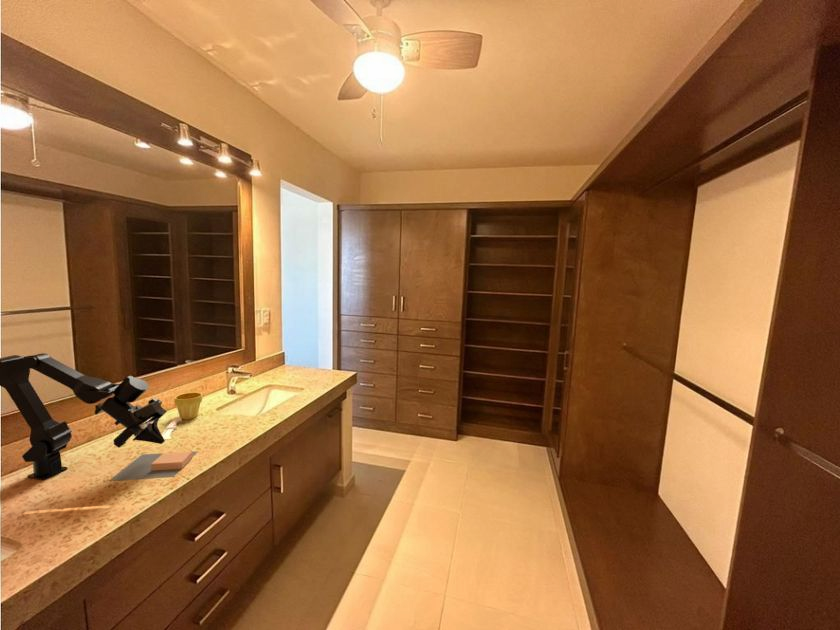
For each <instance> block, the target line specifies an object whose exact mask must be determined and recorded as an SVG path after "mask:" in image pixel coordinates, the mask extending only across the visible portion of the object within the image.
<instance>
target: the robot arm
mask: <svg viewBox="0 0 840 630" xmlns="http://www.w3.org/2000/svg"><path fill="white" fill-rule="evenodd" d="M31 369H32V370H34V371H36V372H38V373H40V374H42V375H44V376H46V377H47V378H50V379H52V380H53V381H56V382H57V383H60V384H61V385H63V386H65V387H67V388H69V389H70V390H72V392H73V394H74V396H75V397H76V398H78V399H79V400H81V401H82V402H83V403H85V404H87V405H92V404H96V403H98V404H96V405H95V406H94V407H95V409H94V415H99V414H100V413H103V412H104V413H105V414H107V415H108V416H109V417H111V418H112V419H113V420H115V422H114V425H116V426H118V425H121V426H123V427H124V428H125V429H123V431H122V432H120V433H119V434H118V435H117V436H116V437H115V438H114V439H113V445H114V446H116V447H117V448H118V449H119V448H121V447H123V446H124V445H125V444H127V441H128V440H129V439H130V438H131V437H132V436H134V437H133V439H132V441H133V442H134V441H141V442H147V443H148V442H149V443H154V444H160V445H162V444H163V443H165V442H166V441H165V440H166V439H164V438H163V436H162V433H161V431H160V429H159V428H158V424H159V423H158V422H159V421H160V419H161V418H162V417H163V416H164V415H165V414H166V413H167V411H168V410H166V409H165V408H163V407H162V404H163V401H162V400H160V398H157V397H154V398H151V399H149V400H148V402H147V404H145V405H144V406H141V405H139V404H137V405H133V404H132V403H134V402H136V401H137V399H139V398H140V397H141V396H142V395H143V394H144V393H145V392H146V391H147V390H148V389H149V387H150V385H149V383H148V382H147V381H146V380H144V379H141V378H139V377H134V376H132V375H129V376H126V377H125V378H124V379H123V381H121V383H120V384H118V383H112V382H110V381H108V380H105V379H102V378H99V377H92V376H88V375H85V374H83V373H82V372H80V371H78V370H76V369H74V368H72V367H70V366H68V365H66V364H64V363H63V362H61V361H59V360H57V359H55V358H53V357H51V355H50V354H49V353H44V352H42V353H36V354H32V355H27V356H20V355H18V354H13V355H8V356H3V357H0V387H1V388H4V389H5V390H6V392H7V394H8V395H9V396H10V398H11V400H12V401H13V404H14V405H15V407H16V408H17V409H18V411H19V412H20V414H21V416H22V417H23V419H24V420H25V422H26V424H27V425H28V426H29V428H30V435H29V443H30V446H31V447H30V448H29V449H28V450H27V451H26V452H25V453H24V454H22V457H21V458H22V459H23V461H24V462H25V463H32V469H33V473H30V474H28V475H27V476H26V477H27V478H29V479H35V480H36V479H37V480H46V479H48V478H52V477H54V476H55V475H58V474H60V473H61V472H64V471H66V470H68V468H69V467H67V466H62V457H61V451H62V450H64V449H66V448H67V445H68V444H69V442H70V441H71V439H72V438H73V436H72V435H73V434H72V432H73V430H72V429H71V428H69V426H68V423H67V421H65V420H64V421H61V422H58V421H56V420H54V419H53V418H52V416H51V414H50V413H49V411H48V410H47V408H46V406H45V405H44V403H43V401H42V400H41V398H40V396H39V395H38V393H37V392H36V390H35V388H34V387H33V385H32V383H31V382H30V380H29V379H30V374H31V373H30V372H31ZM103 400H104V401H103ZM100 401H103V402H101V403H99V402H100Z"/></svg>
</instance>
